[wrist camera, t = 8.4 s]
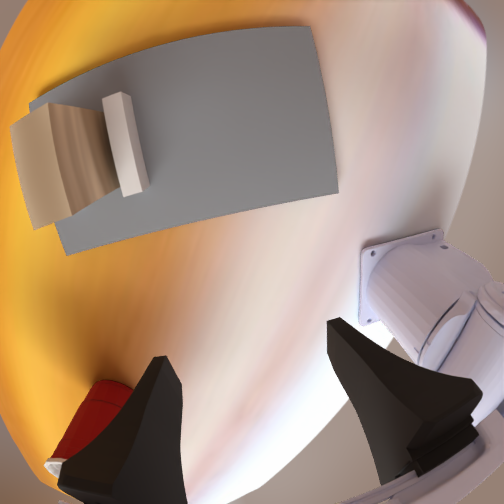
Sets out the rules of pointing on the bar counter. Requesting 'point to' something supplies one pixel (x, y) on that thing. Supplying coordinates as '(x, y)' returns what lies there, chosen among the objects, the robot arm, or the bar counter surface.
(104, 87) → the clip board
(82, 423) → the plastic cup
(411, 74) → the bar counter surface
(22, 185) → the wooden block
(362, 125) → the bar counter surface
